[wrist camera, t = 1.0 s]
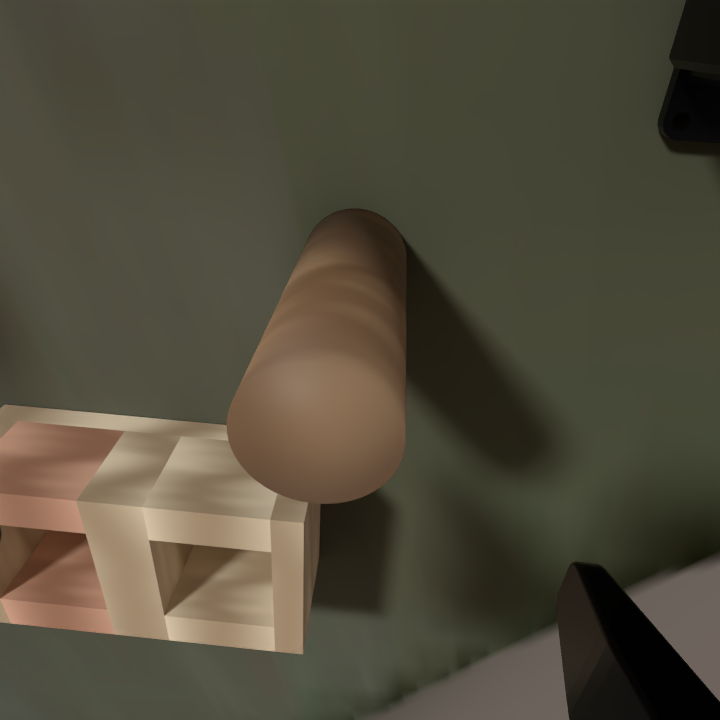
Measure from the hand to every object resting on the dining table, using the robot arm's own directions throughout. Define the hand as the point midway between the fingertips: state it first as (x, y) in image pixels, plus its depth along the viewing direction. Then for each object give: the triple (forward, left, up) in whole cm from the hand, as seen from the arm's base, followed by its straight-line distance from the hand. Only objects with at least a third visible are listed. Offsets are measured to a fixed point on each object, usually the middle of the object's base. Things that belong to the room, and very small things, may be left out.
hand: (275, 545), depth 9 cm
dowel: (0, 0, -13) cm, 13 cm away
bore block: (+8, +12, -13) cm, 19 cm away
